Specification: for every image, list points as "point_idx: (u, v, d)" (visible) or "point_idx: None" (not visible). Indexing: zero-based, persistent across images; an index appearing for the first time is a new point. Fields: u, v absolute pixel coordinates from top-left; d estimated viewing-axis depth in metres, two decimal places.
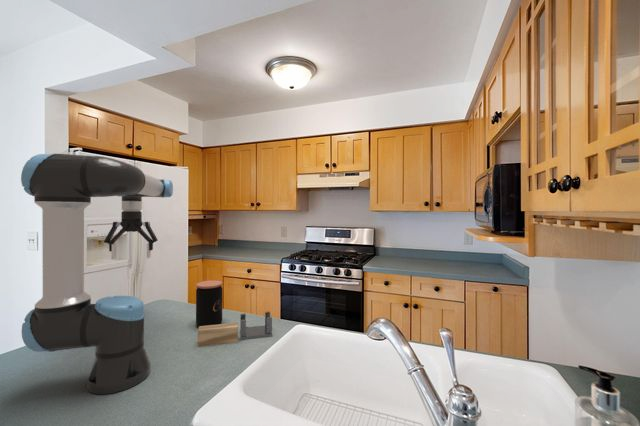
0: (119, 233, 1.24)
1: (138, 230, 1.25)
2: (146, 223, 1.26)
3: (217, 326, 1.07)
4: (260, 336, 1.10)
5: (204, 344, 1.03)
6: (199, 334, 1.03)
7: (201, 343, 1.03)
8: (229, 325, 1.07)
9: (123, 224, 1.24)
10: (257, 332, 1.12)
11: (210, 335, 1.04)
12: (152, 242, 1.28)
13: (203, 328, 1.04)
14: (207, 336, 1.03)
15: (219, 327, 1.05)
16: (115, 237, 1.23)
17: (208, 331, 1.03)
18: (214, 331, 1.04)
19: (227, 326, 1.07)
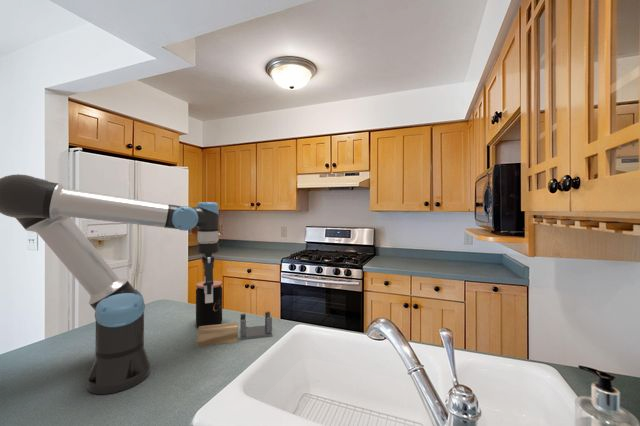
0: None
1: None
2: (205, 259, 1.02)
3: (217, 326, 1.07)
4: (260, 336, 1.10)
5: (204, 344, 1.03)
6: (199, 334, 1.03)
7: (201, 343, 1.03)
8: (229, 325, 1.07)
9: None
10: (257, 332, 1.12)
11: (210, 335, 1.04)
12: (207, 284, 1.00)
13: (203, 328, 1.04)
14: (207, 336, 1.03)
15: (219, 327, 1.05)
16: None
17: (208, 331, 1.03)
18: (214, 331, 1.04)
19: (227, 326, 1.07)
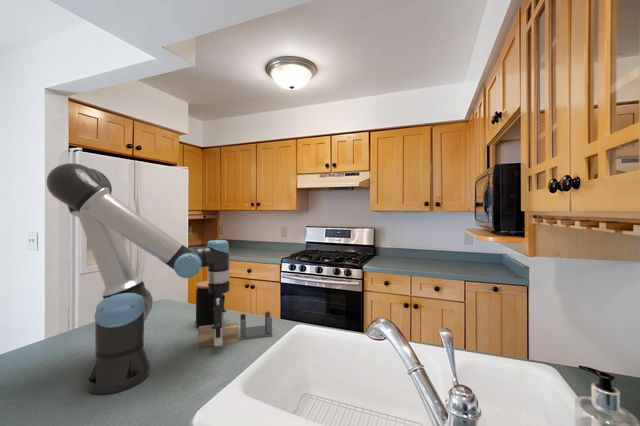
0: None
1: None
2: (214, 301, 1.00)
3: None
4: (260, 336, 1.10)
5: (204, 344, 1.03)
6: (199, 334, 1.03)
7: (201, 343, 1.03)
8: (229, 325, 1.07)
9: None
10: (257, 332, 1.12)
11: (210, 335, 1.04)
12: None
13: (203, 328, 1.04)
14: (207, 336, 1.03)
15: None
16: None
17: (208, 331, 1.03)
18: None
19: (227, 326, 1.07)
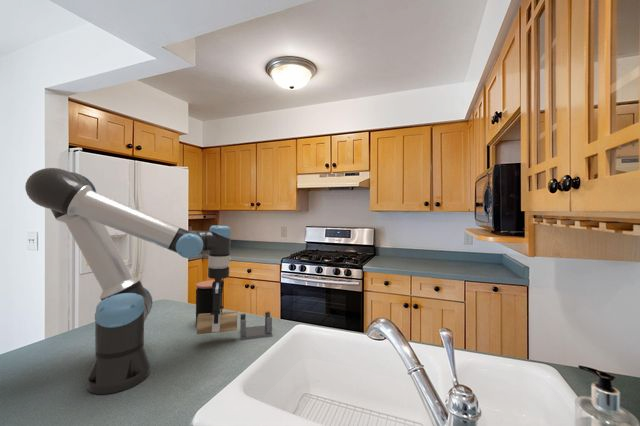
0: None
1: (212, 293, 1.04)
2: (213, 289, 1.00)
3: None
4: (260, 336, 1.10)
5: (203, 331, 1.03)
6: (198, 321, 1.02)
7: (200, 331, 1.03)
8: (229, 313, 1.07)
9: None
10: (257, 332, 1.12)
11: (209, 322, 1.03)
12: (214, 314, 1.02)
13: (202, 315, 1.04)
14: (206, 324, 1.03)
15: None
16: None
17: (207, 319, 1.03)
18: None
19: (226, 314, 1.06)
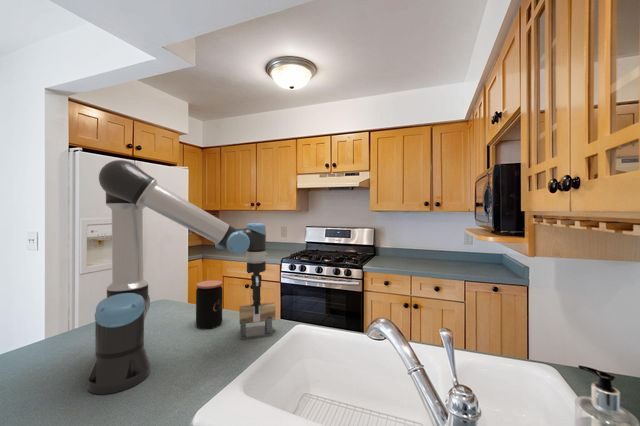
0: None
1: (252, 286, 1.12)
2: (253, 283, 1.08)
3: None
4: (260, 336, 1.10)
5: None
6: (241, 312, 1.10)
7: None
8: (267, 304, 1.15)
9: None
10: (257, 332, 1.12)
11: (250, 313, 1.11)
12: (255, 306, 1.10)
13: (244, 307, 1.12)
14: (248, 314, 1.11)
15: None
16: None
17: (249, 310, 1.11)
18: None
19: (265, 305, 1.14)
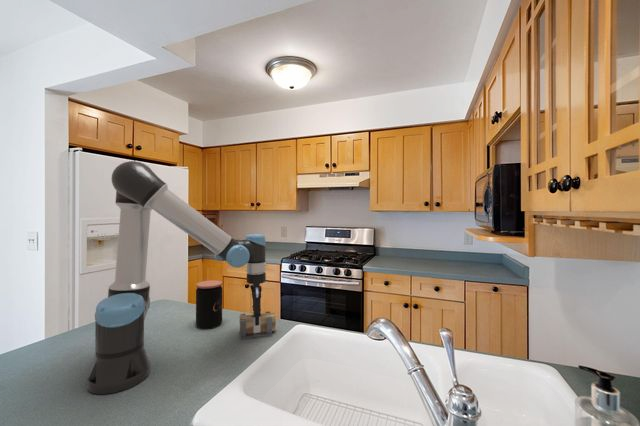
0: None
1: (252, 297, 1.12)
2: (253, 294, 1.08)
3: None
4: (260, 336, 1.10)
5: None
6: None
7: None
8: (267, 314, 1.15)
9: None
10: None
11: (251, 323, 1.12)
12: (255, 317, 1.10)
13: (244, 317, 1.12)
14: (248, 325, 1.11)
15: None
16: (253, 303, 1.16)
17: (249, 320, 1.11)
18: None
19: (265, 315, 1.15)
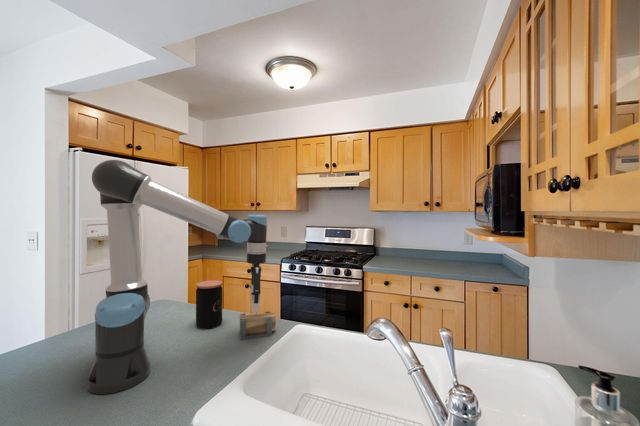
0: (252, 275, 1.18)
1: None
2: (253, 269, 1.07)
3: (256, 315, 1.15)
4: (260, 336, 1.10)
5: None
6: None
7: None
8: (267, 314, 1.15)
9: None
10: None
11: (251, 323, 1.12)
12: (254, 294, 1.05)
13: (244, 317, 1.12)
14: (248, 325, 1.11)
15: (259, 316, 1.13)
16: (251, 278, 1.19)
17: (249, 320, 1.11)
18: (255, 320, 1.12)
19: (265, 315, 1.15)
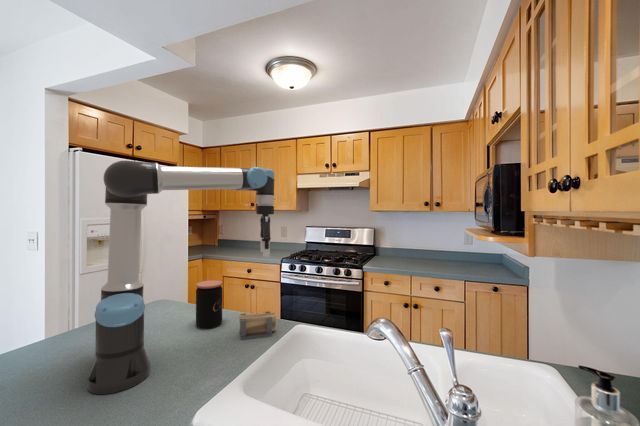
0: (261, 227, 1.25)
1: (261, 225, 1.18)
2: (263, 218, 1.15)
3: (256, 315, 1.15)
4: (260, 336, 1.10)
5: None
6: None
7: None
8: (267, 314, 1.15)
9: None
10: None
11: (251, 323, 1.12)
12: (265, 240, 1.13)
13: (244, 317, 1.12)
14: (248, 325, 1.11)
15: (259, 316, 1.13)
16: (261, 231, 1.27)
17: (249, 320, 1.11)
18: (255, 320, 1.12)
19: (265, 315, 1.15)
